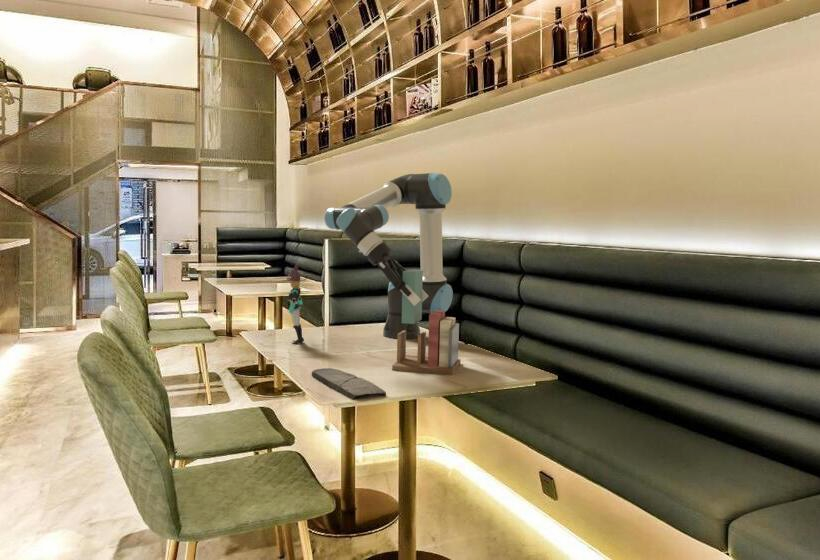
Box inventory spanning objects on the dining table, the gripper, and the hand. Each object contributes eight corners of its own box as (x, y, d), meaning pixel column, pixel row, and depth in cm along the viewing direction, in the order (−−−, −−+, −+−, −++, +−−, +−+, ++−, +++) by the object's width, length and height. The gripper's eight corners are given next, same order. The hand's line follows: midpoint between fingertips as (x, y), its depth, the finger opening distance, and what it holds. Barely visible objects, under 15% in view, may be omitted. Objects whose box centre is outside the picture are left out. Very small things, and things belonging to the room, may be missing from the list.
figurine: (286, 338, 238) (286, 260, 235) (309, 338, 238) (310, 261, 235) (276, 348, 218) (277, 263, 215) (302, 348, 218) (303, 264, 215)
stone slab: (340, 365, 184) (389, 385, 159) (340, 376, 184) (389, 397, 159) (307, 369, 179) (353, 390, 153) (308, 380, 179) (353, 402, 154)
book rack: (405, 359, 204) (406, 307, 202) (460, 363, 199) (462, 310, 198) (392, 370, 188) (393, 313, 187) (451, 374, 184) (453, 317, 182)
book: (409, 318, 199) (410, 269, 198) (421, 319, 198) (422, 270, 197) (401, 323, 189) (402, 271, 188) (414, 323, 188) (415, 272, 187)
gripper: (377, 256, 207) (421, 304, 204) (354, 258, 185) (404, 313, 182) (392, 240, 205) (437, 289, 202) (372, 241, 183) (421, 296, 181)
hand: (421, 300), depth 192 cm, fingers closed on book, 10 cm apart
